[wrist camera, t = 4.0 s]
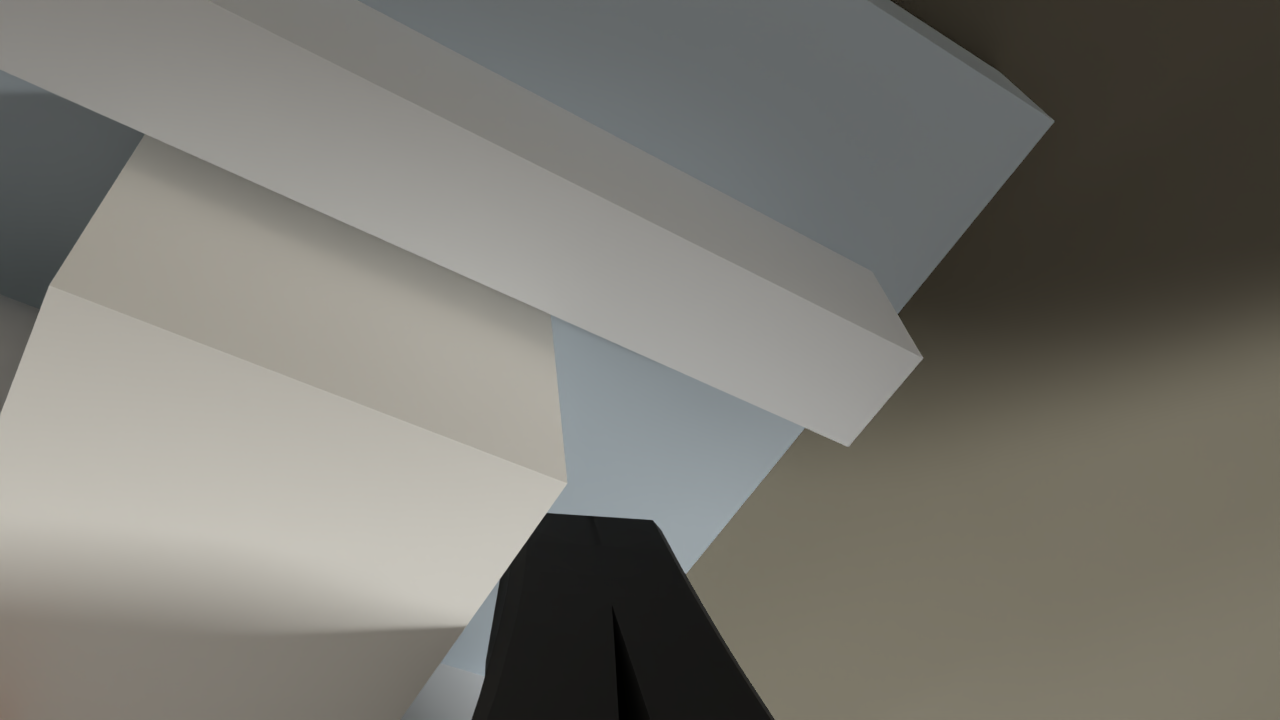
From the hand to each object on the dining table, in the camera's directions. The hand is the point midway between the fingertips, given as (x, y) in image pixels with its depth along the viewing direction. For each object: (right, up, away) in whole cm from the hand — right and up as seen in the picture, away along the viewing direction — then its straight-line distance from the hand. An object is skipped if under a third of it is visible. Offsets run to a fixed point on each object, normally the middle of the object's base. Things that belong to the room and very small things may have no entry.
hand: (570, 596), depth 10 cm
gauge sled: (-4, +2, -1) cm, 4 cm away
